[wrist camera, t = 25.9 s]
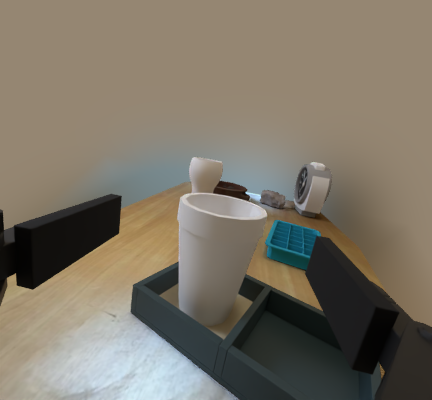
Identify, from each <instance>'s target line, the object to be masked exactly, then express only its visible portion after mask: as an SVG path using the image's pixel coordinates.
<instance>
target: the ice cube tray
mask: <svg viewBox="0 0 432 400" xmlns="http://www.w3.org/2000/svg"><path fill="white" fill-rule="evenodd" d="M316 236H321V234H320V232H319V231H317V230H314V229H310V228H306V227H302V226H299V225H295V224H291V223H288V222H284V221H280V220H275V221H274V223H273V226H272V228H271V230H270V233H269V235H268V237H267V239H266V242H265V244H266V245H267V246H268V251H267V257H269V258H270V259H273V260H276V261H279V262H282V263H285V264H288V265H292V266H295V267H298V268H301V269H304V270H307V266H308V263H309V260H310V256H311V253H312V249H313V246H314V243H315V239H316Z"/></svg>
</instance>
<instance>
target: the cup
mask: <svg viewBox="0 0 432 400" xmlns="http://www.w3.org/2000/svg"><path fill="white" fill-rule="evenodd" d="M222 171H223V169H222V162H220V161H216V160H211V159H205V158H199V157H193V159H192V161H191V164H190V169H189V174H190V180H191V183H192V193H212V194H213V191H214V188H215V187H216V185H217V184H218V183H219V181H220V179H221V176H222Z"/></svg>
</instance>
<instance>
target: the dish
mask: <svg viewBox="0 0 432 400" xmlns="http://www.w3.org/2000/svg"><path fill="white" fill-rule="evenodd" d="M246 191H247V189H246V188H245V187H243V186H240V185H237V184H234V183H230V182H224V181H219V183H218V184H217V185H216V187H215V188H214V191H213V194H218V195H225V196H230V197H234V198H238V199H242V200H247V201H248V200H249V198H250V196H249V195H247V194H246V193H245V192H246Z"/></svg>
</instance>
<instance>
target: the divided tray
mask: <svg viewBox="0 0 432 400" xmlns="http://www.w3.org/2000/svg"><path fill="white" fill-rule="evenodd" d="M178 298H179V262H177V263H175V264H173V265H171V266H169V267H167V268H165V269H163V270H161V271H159V272H157V273H155V274H153V275H151V276H149V277H147V278H146V279H144V280H142V281H140V282H138V283H136V284H134V285H133V292H132V302H131V313H132V314H134V315H135V316H136V317H137V318H139V319H140V320H141V321H142V322H144V323H145V324H146V325H147V326H149V327H150V328H151V329H152V330H154V331H155V332H156V333H157V334H159V335H160V336H161V337H162V338H164V339H165V340H166V341H167V342H169V343H170V344H171V345H172V346H174V347H175V348H176V349H177V350H179V351H180V352H181V353H182V354H184V355H185V356H186V357H187V358H189V359H190V360H191V361H192V362H194V363H195V364H196V365H197V366H199V367H200V368H201V369H202V370H204V371H205V372H206V373H207V374H209V375H210V376H211V377H212V378H214V379H215V380H216V381H217V382H219V383H220V384H221V385H222V386H224V387H225V388H226V389H227V390H229V391H230V392H231V393H232V394H234V395H235V396H236V397H237V398H239V399H240V400H374V399H375V394H376V392H377V389H378V387H379V385H380V383H381V373H380V365H379V361H378V363H377V366H376V368H375V370H374V373H373V375H372V374H368V373H364V372H360V371H356V370H352V369H351V368H350V366H349V364H348V361H347V359H346V357H345V355H344V353H343V351H342V349H341V347H340V345H339V343H338V341H337V339H336V337H335V335H334V332H333V330H332V328H331V326H330V324H329V322H328V320H327V318H326V316H325V314H324V312H323V311H321V310H319V309H317V308H315V307H313V306H311V305H309V304H306V303H304V302H302V301H300V300H298V299H296V298H294V297H292V296H290V295H288V294H286V293H284V292H282V291H279V290H277V289H275V288H273V287H271V286H269V285H267V284H265V283H263V282H261V281H259V280H257V279H255V278H253V277H251V276H249V275H247V274H245V277H244V279H243V282H242V284H241V287H240V289H239V292H238V294H237V297H236V300H235V302H234V305H233V307H232V310H231V312H230V314H229V316H228V318H227V319H226V320H225V321H224V322H223V323H220V324H217V325H214V326H204V325H202V324H200V323H199V322H197V321H196V320H194V319H193V318H191V317H190V316H189V315H187V314H186V313H184V312H183V311H181V310H180V308H179V299H178Z"/></svg>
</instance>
